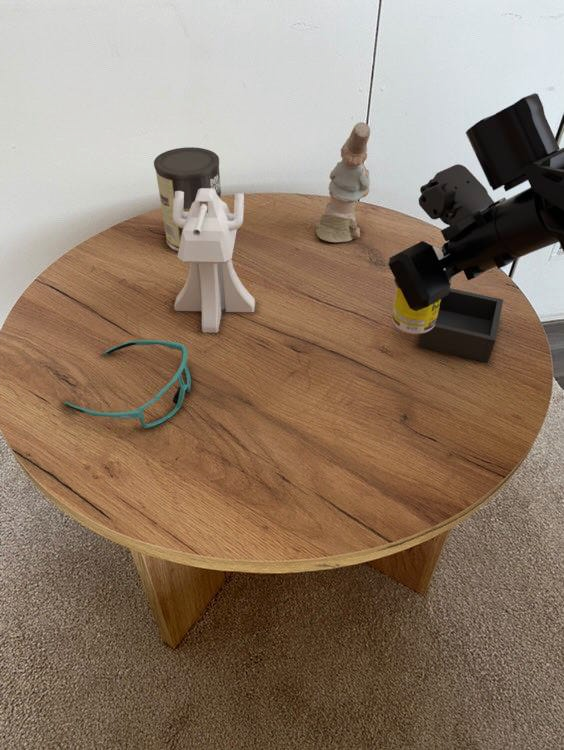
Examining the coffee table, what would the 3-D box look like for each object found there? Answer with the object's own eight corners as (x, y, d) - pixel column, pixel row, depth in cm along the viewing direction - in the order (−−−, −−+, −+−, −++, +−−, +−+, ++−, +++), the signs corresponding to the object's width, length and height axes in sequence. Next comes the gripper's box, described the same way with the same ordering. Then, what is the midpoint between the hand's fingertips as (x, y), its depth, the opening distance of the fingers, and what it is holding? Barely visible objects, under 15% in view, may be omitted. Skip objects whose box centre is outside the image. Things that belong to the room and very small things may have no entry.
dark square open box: (496, 321, 85) (503, 299, 82) (488, 362, 79) (495, 340, 76) (430, 306, 88) (435, 284, 85) (417, 345, 81) (422, 323, 79)
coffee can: (235, 231, 104) (230, 153, 94) (206, 260, 97) (197, 179, 87) (186, 218, 107) (176, 142, 97) (154, 245, 100) (140, 166, 90)
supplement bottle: (432, 340, 72) (447, 269, 65) (387, 331, 73) (398, 261, 66) (438, 313, 76) (453, 244, 69) (395, 305, 77) (406, 237, 70)
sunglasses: (166, 443, 69) (156, 414, 65) (60, 423, 73) (45, 395, 70) (211, 365, 78) (204, 336, 75) (115, 352, 82) (104, 324, 79)
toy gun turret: (167, 336, 83) (146, 223, 70) (182, 282, 92) (166, 173, 80) (251, 338, 82) (245, 224, 70) (257, 283, 92) (253, 175, 79)
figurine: (357, 249, 99) (370, 131, 85) (310, 241, 101) (314, 124, 87) (368, 224, 105) (381, 109, 91) (323, 216, 107) (329, 103, 93)
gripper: (535, 127, 61) (433, 191, 74) (417, 180, 52) (327, 240, 66) (579, 224, 62) (471, 269, 75) (470, 292, 53) (370, 328, 67)
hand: (413, 274), depth 71 cm, fingers closed on supplement bottle, 5 cm apart
